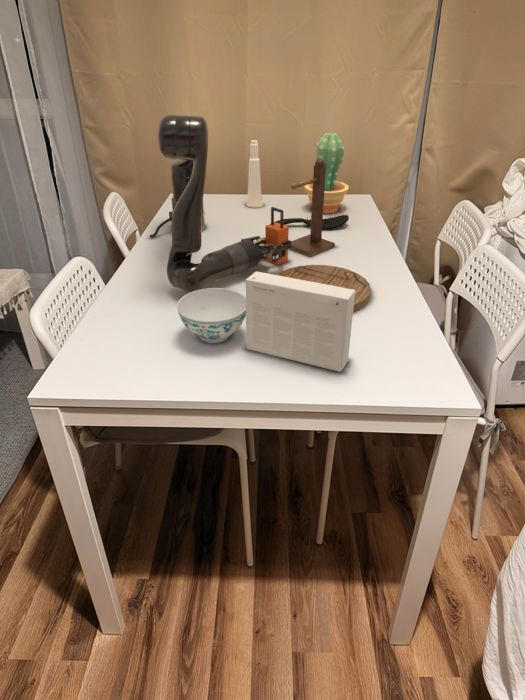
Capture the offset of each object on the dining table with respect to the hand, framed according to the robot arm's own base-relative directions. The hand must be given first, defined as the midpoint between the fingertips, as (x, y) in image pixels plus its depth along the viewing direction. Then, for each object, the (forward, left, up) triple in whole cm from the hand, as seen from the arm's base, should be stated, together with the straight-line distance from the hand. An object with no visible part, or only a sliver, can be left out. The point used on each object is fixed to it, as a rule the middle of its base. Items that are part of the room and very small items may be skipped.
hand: (283, 241), depth 150 cm
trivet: (-1, -23, -5) cm, 24 cm away
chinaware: (-32, -32, -5) cm, 46 cm away
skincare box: (-19, -46, -5) cm, 50 cm away
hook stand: (+9, +3, -5) cm, 11 cm away
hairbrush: (+19, +20, -5) cm, 28 cm away
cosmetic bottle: (+11, +47, -5) cm, 48 cm away
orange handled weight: (-2, -1, -5) cm, 6 cm away
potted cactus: (+32, +33, -5) cm, 46 cm away
